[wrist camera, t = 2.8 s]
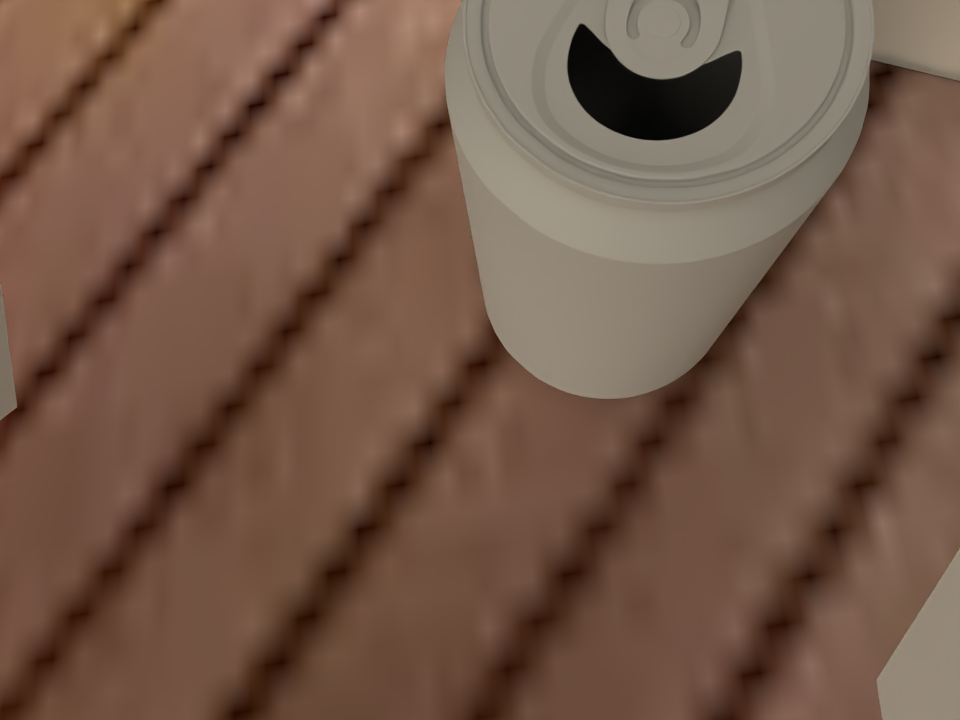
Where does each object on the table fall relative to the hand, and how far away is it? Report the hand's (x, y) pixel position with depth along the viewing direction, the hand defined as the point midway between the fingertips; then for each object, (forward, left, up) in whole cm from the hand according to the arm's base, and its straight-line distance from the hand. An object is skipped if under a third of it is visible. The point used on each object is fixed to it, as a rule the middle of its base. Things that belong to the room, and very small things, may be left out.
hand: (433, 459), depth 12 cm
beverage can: (-1, -7, -11) cm, 13 cm away
